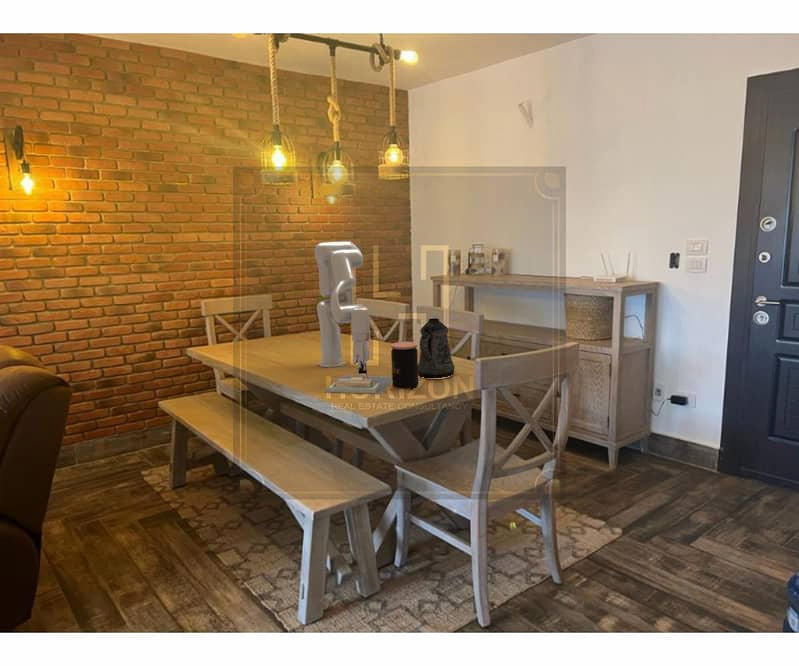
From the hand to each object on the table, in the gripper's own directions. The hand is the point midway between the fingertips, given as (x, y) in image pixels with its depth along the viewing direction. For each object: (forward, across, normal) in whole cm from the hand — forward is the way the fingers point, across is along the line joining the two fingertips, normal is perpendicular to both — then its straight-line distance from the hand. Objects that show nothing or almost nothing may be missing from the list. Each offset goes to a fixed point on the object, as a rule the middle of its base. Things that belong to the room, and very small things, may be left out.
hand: (362, 378), depth 246 cm
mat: (+2, +4, 0) cm, 5 cm away
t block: (+1, +9, 0) cm, 9 cm away
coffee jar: (+2, +4, +19) cm, 19 cm away
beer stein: (+2, -15, +29) cm, 33 cm away
